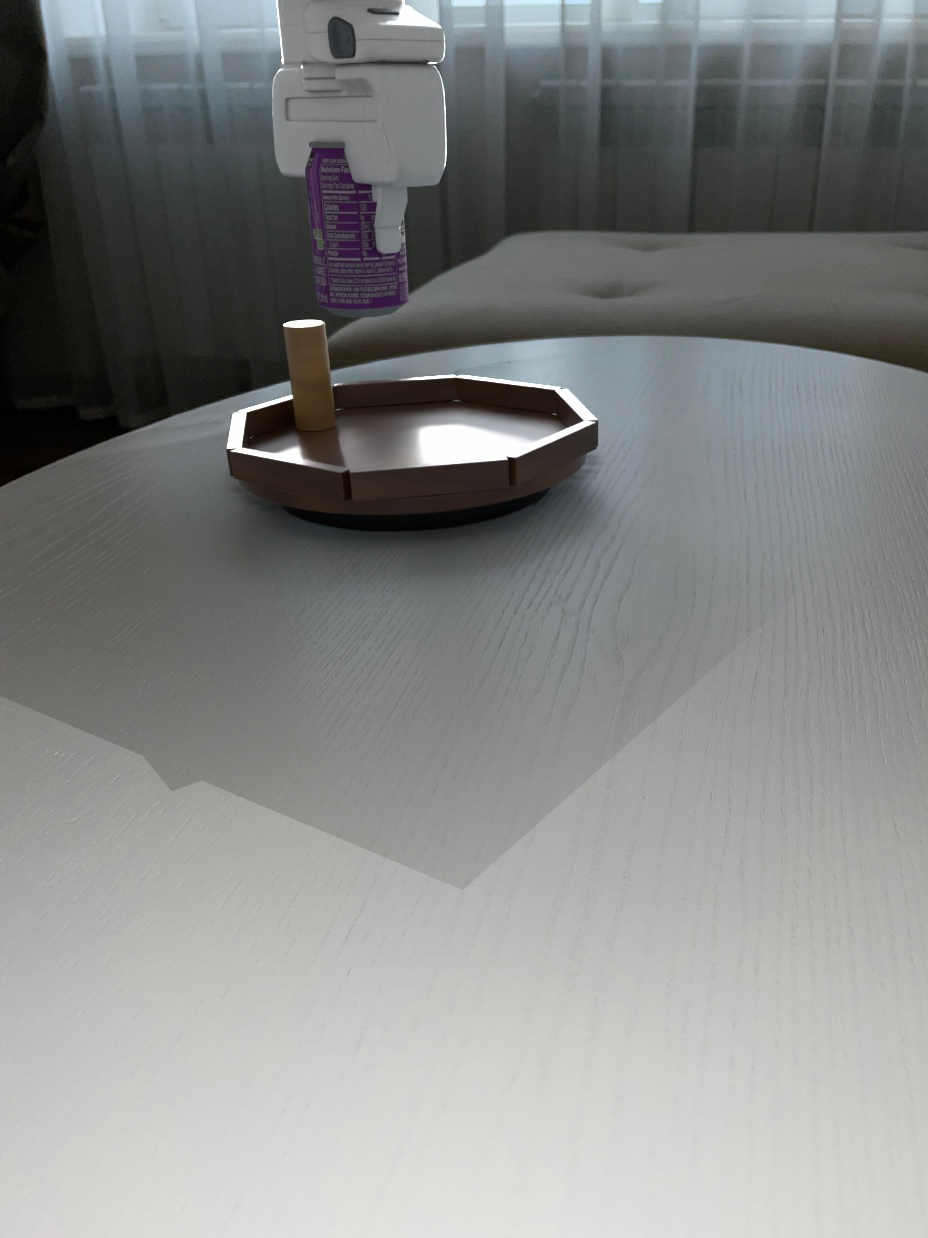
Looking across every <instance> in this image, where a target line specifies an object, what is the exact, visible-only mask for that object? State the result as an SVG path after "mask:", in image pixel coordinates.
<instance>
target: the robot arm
mask: <svg viewBox="0 0 928 1238" xmlns="http://www.w3.org/2000/svg"><path fill="white" fill-rule="evenodd" d="M276 8H277V18H278V19H277V20H278V28H279V38H280V49H281V57H282V58H281V60H280V61H279V70H278V71H277V72H276V73H275V75H274V77H273V79H272V87H271V90H272V91H271V108H272V109H271V111H272V131H273V132H272V133H273V145H274V146H273V147H274V158H275V161H276V164H277V168H278V169H279V172H280V174H281V175H282V177H286V178H297V179H306V176H305V168H306V165H307V162H308V159H309V155H310V152H311V149H312V148H310V147H309V142H342V143H345V148H344V151H345V154H346V158H347V161H348V164H349V168H350V172H351V175H352V178H353V180H354V182H356V183H361V184H372V196H373V201H374V202H377V207H376V215H375V223H374V226H372V227H369V232H370V238H371V242H370V245H371V248H372V250H373V251H375V252H378V253H383V254H387V253H397V252H399V250H400V249H401V237H400V226H401V223H402V220H403V216H404V217H405V212H406V210H407V205H408V202H409V199H408V188H418V187H419V188H420V187H430V186H437V185H438V184H439V183H440V181H441V179H442V176H443V174H444V171H445V167H446V162H447V122H446V121H447V119H446V100H445V88H444V83H443V79H442V76H441V74H440V71H439V70H438V68H437V67H436V65H434V64H438V63H441V62H442V61H443V60H444V57H445V54H446V53H445V51H446V42H445V39H446V38H445V33H444V30H443V28H442V26H441V25H440V24H438V23H436V22H435V21H433V20H431V19H430V18H427V16H424V15H423V14H421V13H419V12H418V11H417V10H415V9H414V8H413V7H412V6H410V5H408V4H405V0H276Z"/></svg>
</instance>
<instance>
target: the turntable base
mask: <svg viewBox="0 0 928 1238" xmlns="http://www.w3.org/2000/svg"><path fill="white" fill-rule="evenodd" d="M551 488H552V487H550V488H547V489H545V490H542V491H540V492H537V493H534V494H531V495H528V496H524V497H521V498H517V499H513V500H509V501H506V502H501V503H496V504H491V505H486V506H481V507H475V508H468V509H462V510H455V511H446V512H437V513H424V514H409V515H351V514H336V513H326V512H317V511H309V510H304V509H298V508H293V507H288V506H284V505H280V504H278V505H279V507H280V508H281V509H282V510H283V511H285V512H286V513H288V514H289V515H291V516H293V517H294V518H297V519H300V520H301V521H305V522H307V523H310V524H314V525H318V526H323V527H327V528H333V529H339V530H350V531H356V532H374V533H378V532H379V533H404V532H405V533H406V532H422V531H432V530H433V531H434V530H443V529H444V530H445V529H451V528H457V527H458V528H459V527H464V526H469V525H475V524H480V523H483V522H488V521H492V520H496V519H499V518H503V517H506V516H509V515H512V514H514V513H517V512H519V511H522V510H523V509H526V508H528V507H530V506H532V505H534V504H536V503H537V502H539V501H540V500H542V498H544V497H545V496H546V495H547V494H548V493H549V491H550V490H551Z"/></svg>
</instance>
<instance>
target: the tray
mask: <svg viewBox="0 0 928 1238" xmlns="http://www.w3.org/2000/svg"><path fill="white" fill-rule="evenodd" d="M282 328H283V336H284V343H285V350H286V351H285V352H286V359H287V366H288V373H289V375H288V376H289V381H290V390H291V395H288V396H284V397H281V398H278V399H274V400H271V401H267V402H264V403H260V404H257V405H254V406H250V407H247V408H244V409H240V410H237V411H236V412H233V413H232V415H231V420H230V425H229V432H228V437H227V443H226V448H225V451H226V457H227V463H228V469H229V476H230V477H233V479H234V480H237V481H238V482H239V484H240V486H241V487H242V488H244V489H245V490H246V491H247V492H248V493H250V494H251V495H254V496H256V497H257V498H259V499H263V500H265V501H267V502H270V503H272V504H276V505H279V504H280V505H284V506H288V507H293V508H298V509H304V510H309V511H317V512H326V513H336V514H351V515H409V514H424V513H437V512H446V511H455V510H462V509H468V508H475V507H481V506H486V505H491V504H496V503H501V502H506V501H509V500H513V499H517V498H521V497H524V496H528V495H531V494H534V493H537V492H540V491H542V490H545V489H547V488H550V487H551V488H552V487H554V486H557V485H559V484H561V483H562V482H564V481H566V480H567V479H569V478H571V477H572V476H574V475H575V474H576V473H578V472H579V471H580V470H581V468H582V467H583V466H584V464H585V463H586V460H587V457H588V454H589V453H591V452H593V451H595V450H597V449H598V446H599V419H598V418H597V417H595V415H594V414H592V412H590V410H589V409H587V408H586V406H585V405H584V404H583V403H582V402H581V401H580V400H579V399H578V398H577V397H576V396H575V395H574V394H573V393H572V392H571V391H570V390H569V388H563V387H562V386H554V385H553V386H552V385H546V384H538V383H531V382H530V383H529V382H522V381H515V380H514V381H513V380H507V379H497V378H491V377H490V378H489V377H482V376H481V377H480V376H475V375H473V376H472V375H465V374H461V375H458V376H457V375H455V374H447V375H446V374H445V375H434V376H433V375H432V376H419V377H418V376H417V377H405V378H391V379H389V378H388V379H376V380H363V381H362V380H361V381H349V382H348V381H347V382H336V383H334V385H333V383H332V375H331V366H330V365H331V364H330V356H329V355H330V354H329V347H328V346H329V345H328V338H327V329H326V322H325V321H323V320H319V319H318V320H317V319H303V320H302V319H301V320H293V321H288V322H286V323H283V324H282ZM551 488H550V489H551ZM280 505H279V506H280Z"/></svg>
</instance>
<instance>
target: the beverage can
mask: <svg viewBox="0 0 928 1238" xmlns="http://www.w3.org/2000/svg"><path fill="white" fill-rule="evenodd" d="M309 147H310V148H312V149H311V152H310V155H309V159H308V162H307V165H306V168H305V176H306V178H305V186H306V197H307V209H308V217H309V226H310V227H309V228H310V229H309V230H310V239H311V248H312V249H311V250H312V260H313V271H314V282H315V291H316V303H317V305H318V306H319V307H321V308H322V309H324V310H326V311H327V312H330V314H332V315H333V316H336V317H337V316H338V317H341V318H357V319H359V318H377V317H385V316H389V315H393V314H395V313H396V312H397V311H398V310H399V309H401V308H403V307H404V306H405V305H406V304H408V303H409V302H410V297H409V296H410V295H409V281H408V280H409V279H408V278H409V277H408V262H407V248H406V247H407V246H406V228H405V215H404V216H403V220H402V223H401V226H400V237H401V249H400V250H399V252H397V253H387V254H383V253H378V252H375V251H373V250H372V248H371V245H370V242H371V238H370V232H369V227H372V226H374V223H375V215H376V207H377V202H374V201H373V196H372V184H361V183H356V182H354V180H353V178H352V175H351V172H350V168H349V164H348V161H347V158H346V154H345V151H344V148H345V143H342V142H309Z"/></svg>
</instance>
